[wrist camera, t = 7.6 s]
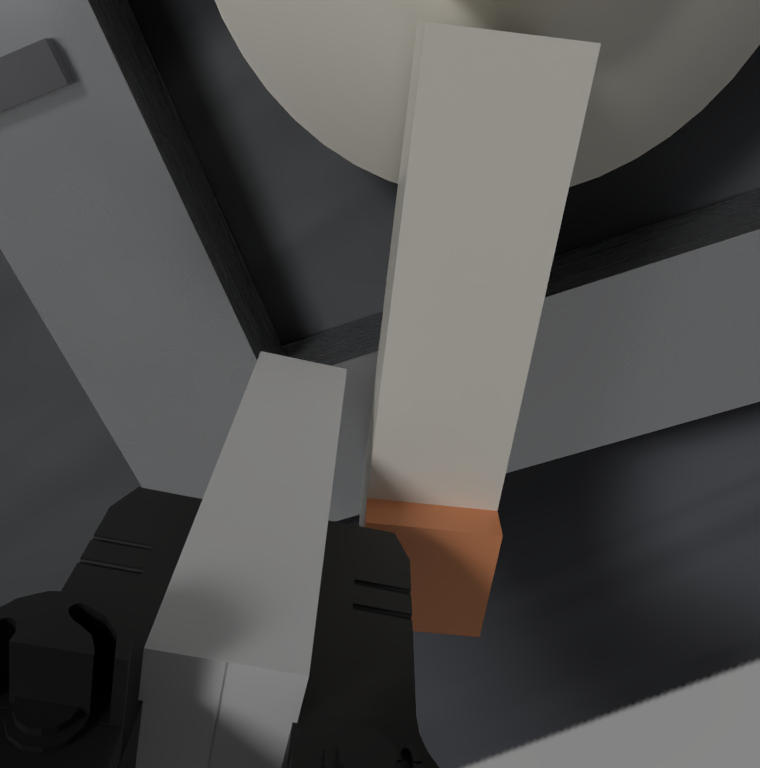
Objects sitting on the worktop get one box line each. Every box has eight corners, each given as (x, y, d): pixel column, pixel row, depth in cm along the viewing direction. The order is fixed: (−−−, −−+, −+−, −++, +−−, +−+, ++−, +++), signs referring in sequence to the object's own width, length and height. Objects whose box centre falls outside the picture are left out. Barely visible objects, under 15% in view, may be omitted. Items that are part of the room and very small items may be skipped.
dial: (220, -536, 10) (21, -1186, 5) (856, -439, 10) (1364, -944, 5) (212, 416, 17) (127, 605, 11) (599, 456, 17) (696, 656, 12)
